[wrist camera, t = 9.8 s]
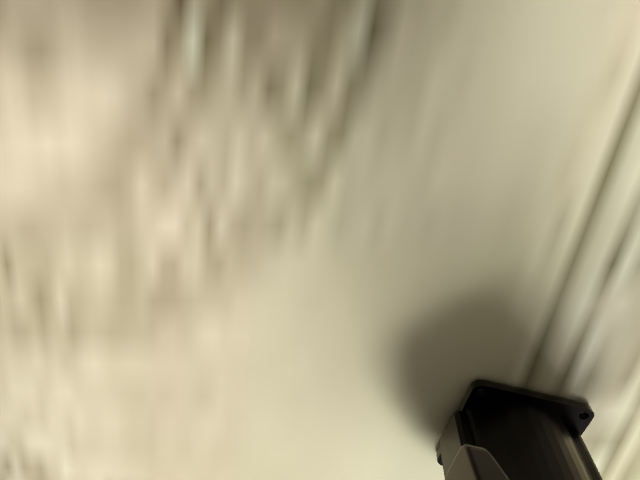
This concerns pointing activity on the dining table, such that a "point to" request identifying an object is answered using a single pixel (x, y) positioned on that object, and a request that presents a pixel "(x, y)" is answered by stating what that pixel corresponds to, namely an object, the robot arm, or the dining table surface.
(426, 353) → the dining table surface
